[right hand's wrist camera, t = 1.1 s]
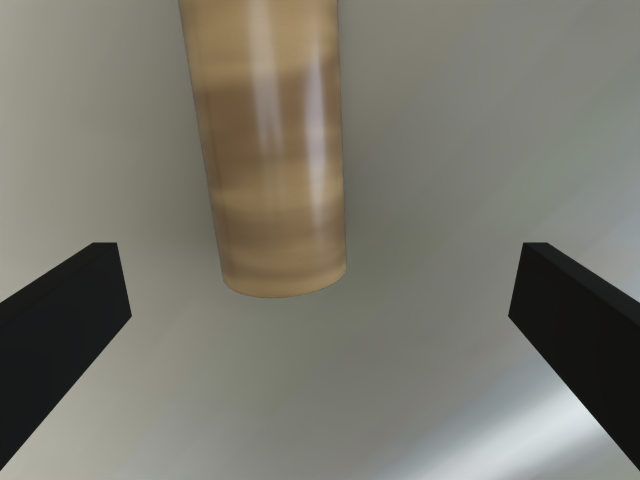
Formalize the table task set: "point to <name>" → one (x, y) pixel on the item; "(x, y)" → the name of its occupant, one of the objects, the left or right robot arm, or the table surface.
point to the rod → (271, 139)
